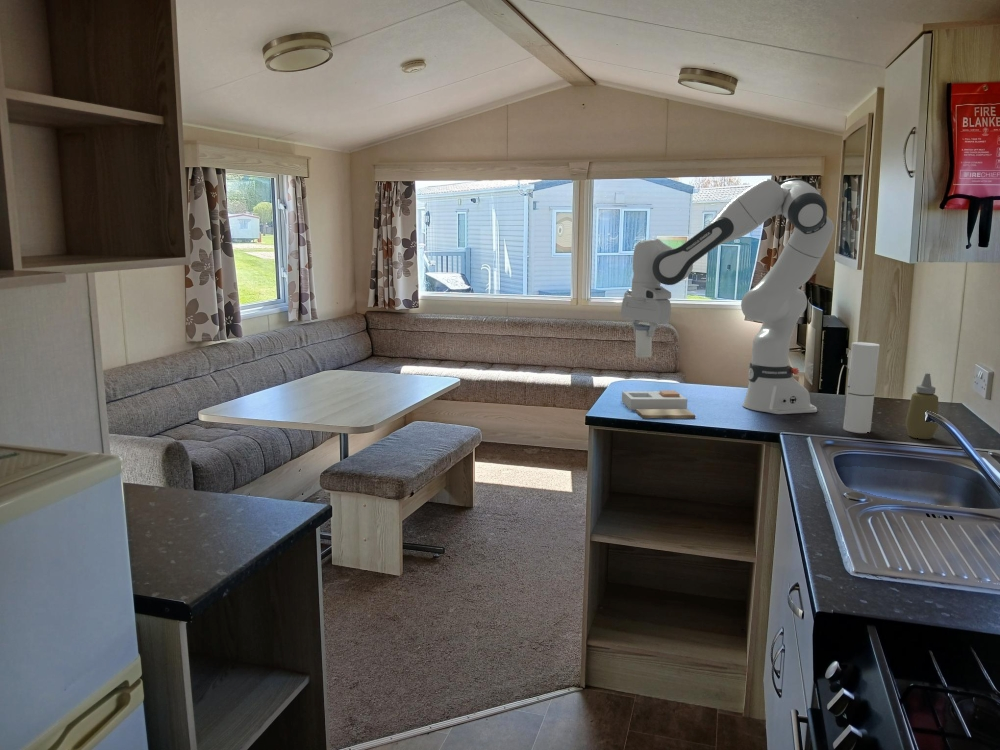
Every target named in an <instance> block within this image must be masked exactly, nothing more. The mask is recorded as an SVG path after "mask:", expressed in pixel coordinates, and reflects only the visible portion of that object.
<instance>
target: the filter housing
mask: <svg viewBox="0 0 1000 750" xmlns="http://www.w3.org/2000/svg"><path fill="white" fill-rule="evenodd" d="M660 391H661V390H659V391H658V390H657V391H656V390H655V391H653V390H649V391H645V390H640V391H638V390H634V391H632V390H625V391H624V390H622V391H621V402H622V404H624V405H625V407H627V408H628V409H629V410H630V411H636V409H687V410H688V398H686V397H685V396H684V395H682V394H681V393H679V394H680V395H679V397H662V396H661V395H660Z"/></svg>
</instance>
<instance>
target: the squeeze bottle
mask: <svg viewBox="0 0 1000 750" xmlns="http://www.w3.org/2000/svg"><path fill="white" fill-rule="evenodd" d="M935 393H936V387H935V386H932V378H931V373H927V372H926V373H925V374H924V377H923V378H922V382H921V384H919V385H916V389H915V392H913V393H912V394H911V397H910V401H909V404H908V405H909V406H908V409H907V415H906V419H905V428H906V431H907V435H908V436H909V437H911V438H913V439H914V438H915V439H917V438H918V440H931V439H933V437H934V435H935V433H936V431H937V429H938V427H939V423H938V424H937V423H934V422H926V421H925V412H926V411H927V410H928V411H931V412H934V413H936V414H938V415H939V396H938V395H937V394H935Z"/></svg>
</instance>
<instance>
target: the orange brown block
mask: <svg viewBox="0 0 1000 750" xmlns="http://www.w3.org/2000/svg"><path fill="white" fill-rule="evenodd" d="M659 391H660V395H661V396H662V397H679V395H680V394H681V393H679V392H678V391H676V390H659Z"/></svg>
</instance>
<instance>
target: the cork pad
mask: <svg viewBox="0 0 1000 750" xmlns="http://www.w3.org/2000/svg"><path fill="white" fill-rule="evenodd" d="M635 412H636V414H637V415H638V416H640V417H641V419H643V418H665V419H696V415H695V414H694V413H693V412H692V411H690V410H689V409H688V408H687V409H636V410H635Z"/></svg>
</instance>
